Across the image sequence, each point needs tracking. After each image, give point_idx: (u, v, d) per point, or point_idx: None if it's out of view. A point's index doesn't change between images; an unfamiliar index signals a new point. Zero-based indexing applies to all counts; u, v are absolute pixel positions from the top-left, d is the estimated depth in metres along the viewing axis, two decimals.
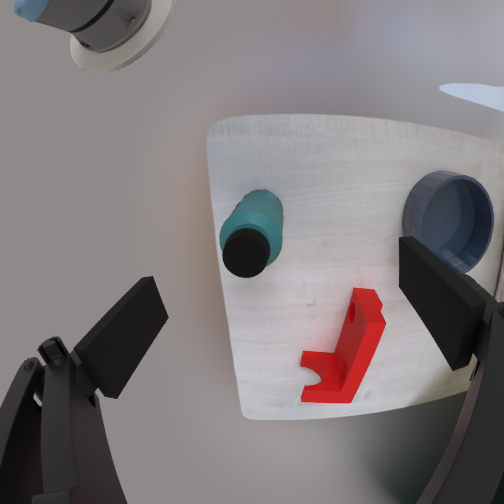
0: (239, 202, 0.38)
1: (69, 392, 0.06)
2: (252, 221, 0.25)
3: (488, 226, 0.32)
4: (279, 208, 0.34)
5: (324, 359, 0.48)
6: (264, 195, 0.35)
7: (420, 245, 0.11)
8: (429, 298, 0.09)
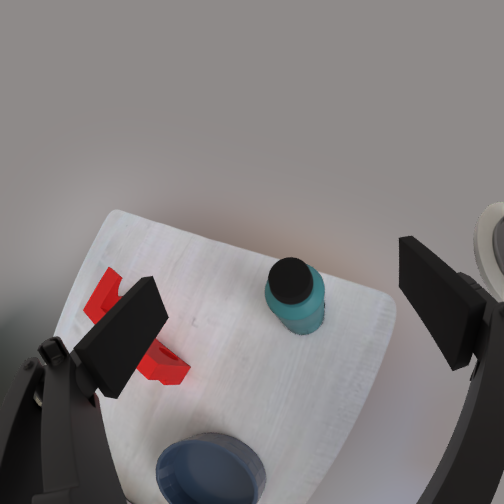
0: None
1: (69, 392, 0.06)
2: (312, 299, 0.26)
3: None
4: (302, 330, 0.34)
5: None
6: (318, 322, 0.35)
7: (420, 245, 0.11)
8: (429, 298, 0.09)
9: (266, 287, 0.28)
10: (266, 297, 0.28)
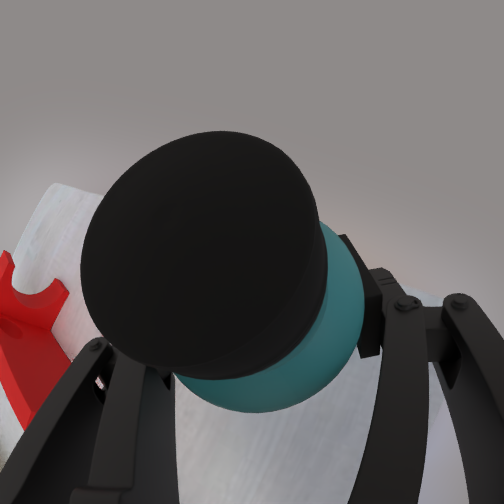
0: None
1: (144, 376, 0.07)
2: (319, 342, 0.06)
3: None
4: None
5: (44, 313, 0.26)
6: None
7: (347, 242, 0.13)
8: None
9: None
10: None
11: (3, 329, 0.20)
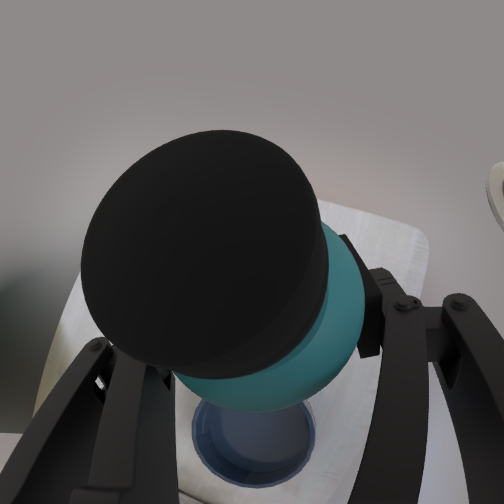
0: None
1: (144, 376, 0.07)
2: (319, 341, 0.06)
3: (231, 477, 0.27)
4: None
5: None
6: None
7: (347, 242, 0.13)
8: None
9: None
10: None
11: None
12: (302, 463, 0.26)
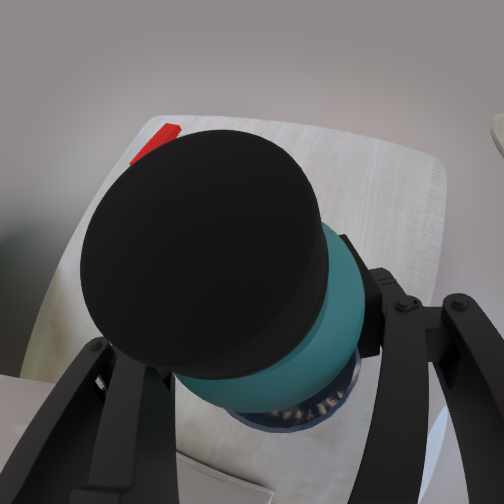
0: None
1: (144, 376, 0.07)
2: (319, 342, 0.06)
3: (254, 420, 0.24)
4: None
5: None
6: None
7: (347, 242, 0.13)
8: None
9: None
10: None
11: None
12: (347, 389, 0.23)
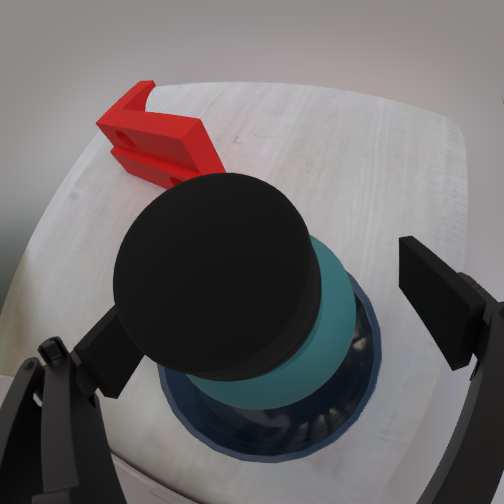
0: None
1: (69, 392, 0.06)
2: (315, 348, 0.07)
3: (224, 442, 0.16)
4: None
5: None
6: None
7: (420, 245, 0.11)
8: (429, 298, 0.09)
9: None
10: None
11: None
12: (361, 401, 0.15)
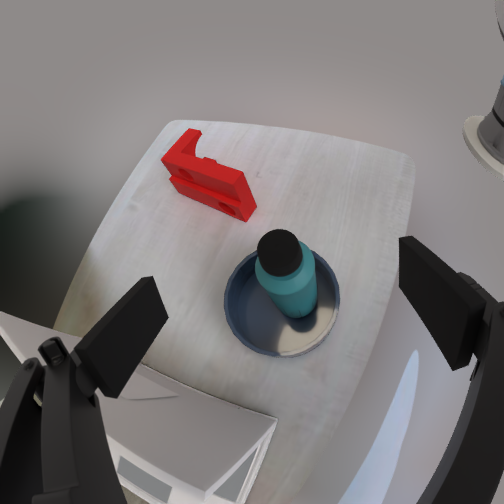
0: None
1: (69, 392, 0.06)
2: (302, 272, 0.26)
3: None
4: (294, 311, 0.34)
5: None
6: (311, 303, 0.35)
7: (420, 245, 0.11)
8: (429, 298, 0.09)
9: (256, 262, 0.29)
10: (256, 272, 0.28)
11: None
12: (330, 321, 0.34)
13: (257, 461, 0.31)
